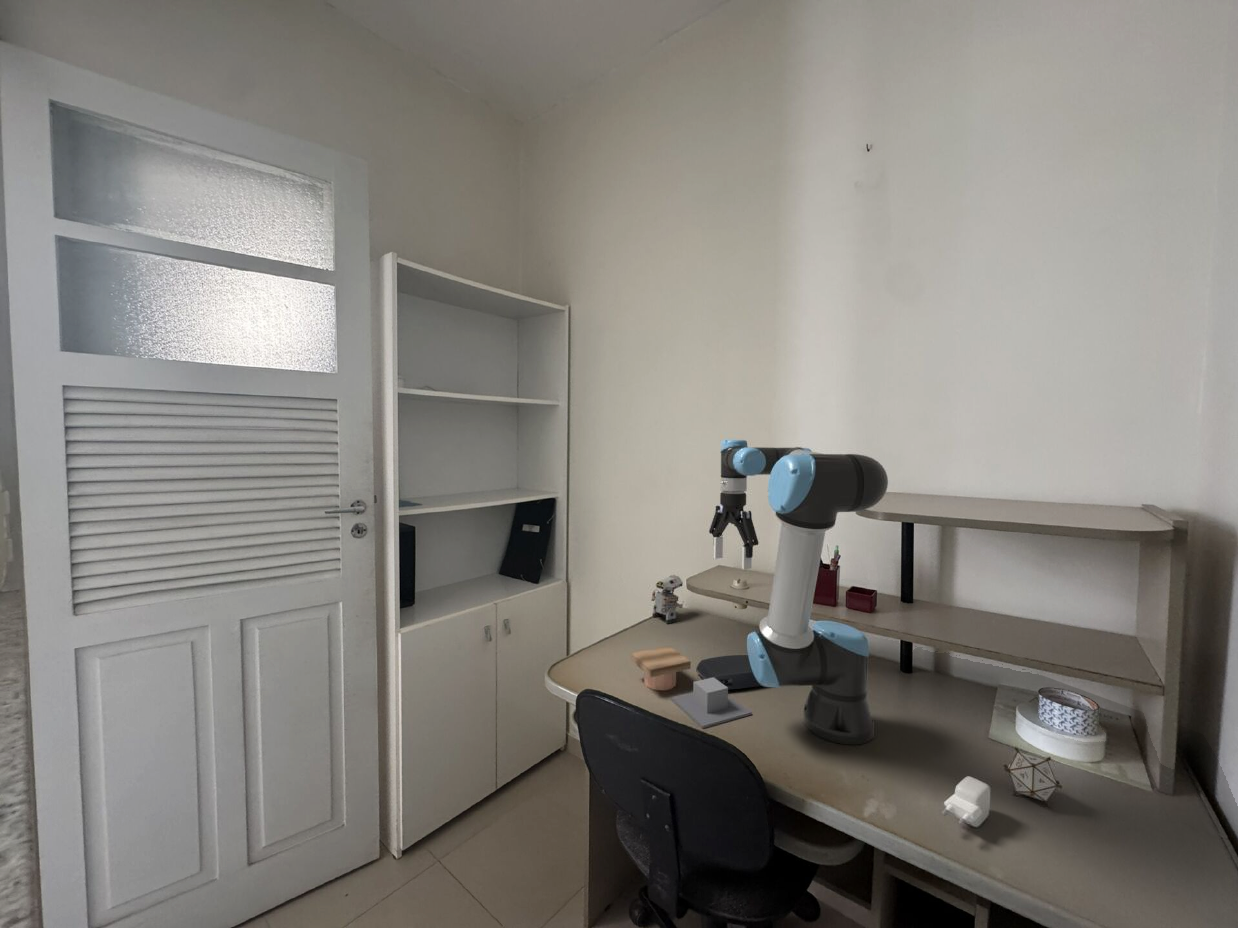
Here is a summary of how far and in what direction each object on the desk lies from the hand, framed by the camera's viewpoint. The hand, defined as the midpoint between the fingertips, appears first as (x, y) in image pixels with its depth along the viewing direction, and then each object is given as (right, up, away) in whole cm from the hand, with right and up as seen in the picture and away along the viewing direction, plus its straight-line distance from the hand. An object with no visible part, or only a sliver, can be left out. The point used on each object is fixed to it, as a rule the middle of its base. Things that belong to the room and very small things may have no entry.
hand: (731, 563), depth 154 cm
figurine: (-15, -27, +34) cm, 46 cm away
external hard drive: (-1, -29, -12) cm, 32 cm away
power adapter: (+26, -33, -64) cm, 77 cm away
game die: (+43, -33, -57) cm, 79 cm away
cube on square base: (-11, -30, -27) cm, 42 cm away
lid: (-22, -25, -15) cm, 36 cm away
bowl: (-22, -29, -14) cm, 40 cm away
